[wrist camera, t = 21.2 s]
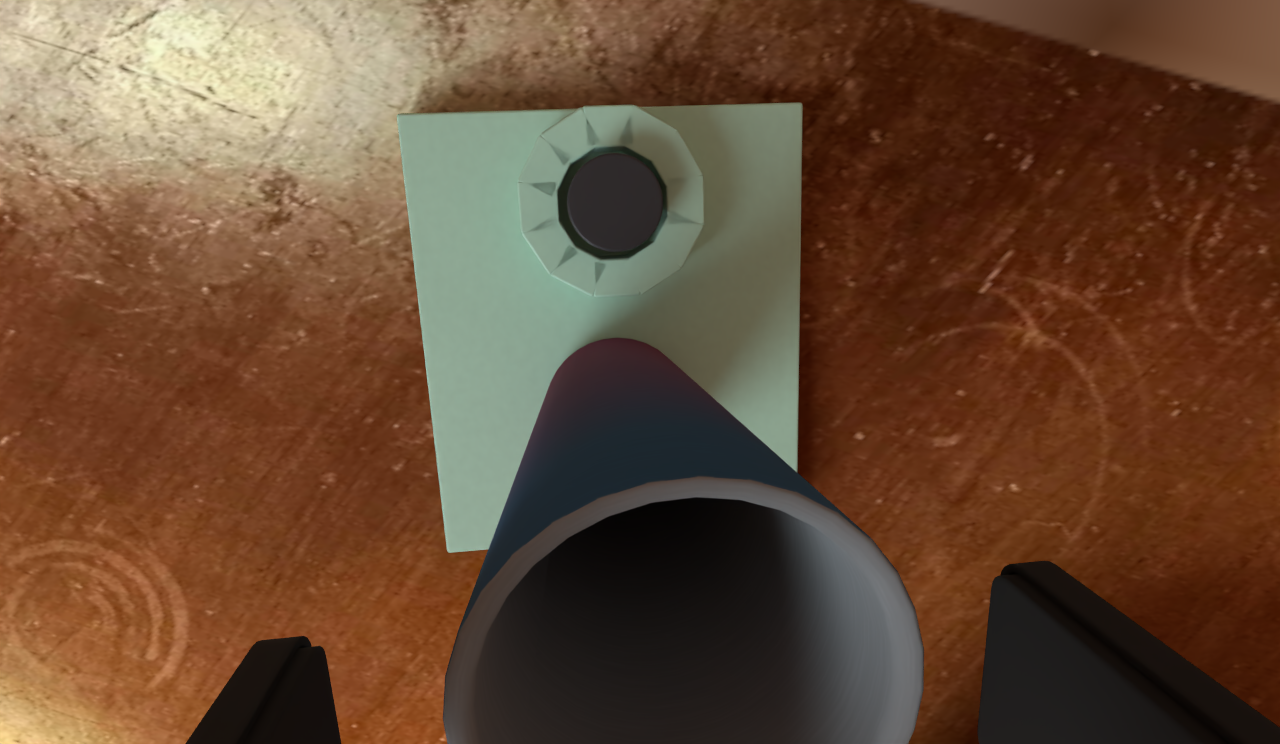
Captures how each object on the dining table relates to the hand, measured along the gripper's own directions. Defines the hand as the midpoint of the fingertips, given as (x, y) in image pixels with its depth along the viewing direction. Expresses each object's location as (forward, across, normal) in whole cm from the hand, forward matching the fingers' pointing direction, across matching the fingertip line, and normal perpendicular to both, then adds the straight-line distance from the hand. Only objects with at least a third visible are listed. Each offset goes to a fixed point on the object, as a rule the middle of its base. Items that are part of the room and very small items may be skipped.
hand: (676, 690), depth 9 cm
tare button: (+14, 0, -6) cm, 15 cm away
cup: (+15, 0, 0) cm, 15 cm away
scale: (+16, 0, -2) cm, 17 cm away
